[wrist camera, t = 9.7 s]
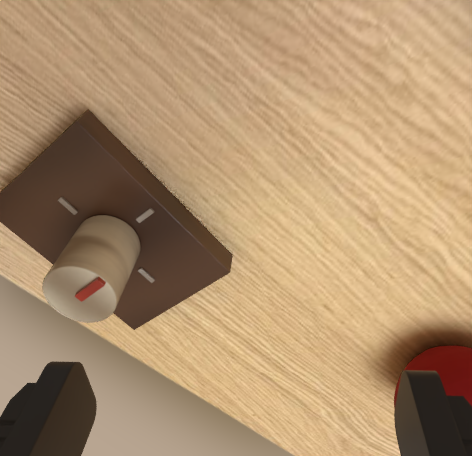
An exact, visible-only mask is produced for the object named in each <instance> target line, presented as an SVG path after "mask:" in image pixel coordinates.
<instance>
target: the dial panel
mask: <svg viewBox="0 0 472 456" xmlns="http://www.w3.org/2000/svg"><path fill="white" fill-rule="evenodd" d="M97 215H107V216H112V217H116V218H118V219H120V220H122V221H124V222H126V223H127V224H128V225H129V226H131V227H132V228H133V230H134V231H135V232H136V234H137V235H138V238H139V240H140V245H141V250H140V254H139V256H138V258H137V261H136V263H135V265H134V268H133V270H132V272H131V274H130V277H129V279H128V281H127V284H126V286H125V288H124V290H123V293H122V295H121V297H120V300H119V302H118V304H117V306H116V309H115V311H114V312H113V313H114V314H115V315H116V316H118V317H119V318H120V319H121V320H123V321H124V322H125V323H126V324H128V325H129V326H130V327H131V328H133V329H134V330H135V329H136V328H138V327H140V326H141V325H143V324H145V323H146V322H148V321H150V320H151V319H153V318H155V317H156V316H158V315H160V314H162V313H163V312H165V311H167V310H168V309H170V308H172V307H173V306H175V305H177V304H178V303H180V302H182V301H183V300H185V299H187V298H188V297H190V296H192V295H193V294H195V293H197V292H198V291H200V290H202V289H203V288H205V287H207V286H208V285H210V284H212V283H213V282H215V281H217V280H218V279H220V278H222V277H223V276H225V275H227V274H228V273H230V269H231V263H232V255H231V254H230V253H229V252H228V251H227V249H226V248H225V247H224V246H223V245H222V244H221V243H220V242H219V241H218V240H217V239H216V238H215V237H214V236H213V235H212V234H211V233H210V232H209V231H208V230H207V229H206V228H205V227H204V226H203V225H202V224H201V223H200V222H199V221H198V220H197V219H196V218H195V217H194V216H193V215H192V214H191V213H190V212H189V211H188V210H187V209H186V208H185V207H184V206H183V205H182V204H181V203H180V202H179V201H178V200H177V199H176V198H175V197H174V196H173V195H172V194H171V193H170V192H169V191H168V190H167V189H166V188H165V187H164V186H163V185H162V184H161V183H160V182H159V181H158V180H157V179H156V178H155V177H154V176H153V175H152V174H151V173H150V172H149V171H148V170H147V169H146V168H145V167H144V166H143V165H142V164H141V163H140V162H139V161H138V160H137V159H136V158H135V157H134V155H133V154H132V153H131V152H130V151H129V150H128V149H127V148H126V147H125V146H124V145H123V144H122V143H121V142H120V141H119V140H118V139H117V138H116V137H115V136H114V135H113V134H112V133H111V132H110V131H109V130H108V129H107V128H106V127H105V126H104V125H103V124H102V123H101V122H100V121H99V120H98V119H97V118H96V117H95V116H94V115H93V114H92V113H91V112H90V111H89V110H87V111H86V112H85V113H84V114H83V115H82V116H81V117H79V118H78V119H77V120H76V121H75V122H74V123H73V124H72V125H71V126H70V127H69V128H68V129H67V130H66V131H65V132H64V133H63V134H62V135H61V136H59V137H58V138H57V139H56V140H55V141H54V142H53V143H52V144H51V145H50V146H49V147H48V148H47V149H46V150H45V151H44V152H43V153H42V154H41V155H40V156H39V157H37V158H36V159H35V160H34V161H33V162H32V163H31V164H30V165H29V166H28V167H27V168H26V169H25V170H24V171H23V172H22V173H21V174H20V175H19V176H18V177H17V178H15V179H14V180H13V181H12V182H11V183H10V184H9V185H8V186H7V187H6V188H5V189H4V190H3V191H2V192H1V193H0V222H1V223H3V224H4V225H5V226H6V227H7V228H9V229H10V230H11V231H12V232H14V233H15V234H16V235H17V236H19V237H20V238H21V239H22V240H24V241H25V242H26V243H27V244H29V245H30V246H31V247H32V248H33V249H35V250H36V251H37V252H38V253H40V254H41V255H42V256H43V257H45V258H46V259H47V260H48V261H50V262H51V263H52V264H53V265H54V263H55V262H56V260H57V259H58V257H59V256H60V254H61V253H62V251H63V250H64V248H65V247H66V245H67V244H68V242H69V241H70V240H71V238H72V237H73V235H74V234H75V232H76V231H77V229H78V228H79V226H80V225H81V223H83V222H84V221H85V220H86V219H88V218H90V217H93V216H97Z"/></svg>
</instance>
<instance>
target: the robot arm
mask: <svg viewBox="0 0 472 456" xmlns="http://www.w3.org/2000/svg"><path fill="white" fill-rule="evenodd" d="M95 416H96V398H95V395H94V393H93V390H92V388H91V385H90V382H89V380H88V377H87V375H86V372H85V370H84V367H83V365H82V364H81V363H80V362H50V363H48V364H47V365H46V367H45V368H44V370H43V372H42V374H41V375H40V377H39V379H38V381H37V383H27V384H26V385H25V386H24V387H23V388H22V389H21V390H20V391H19V392H18V393H17V394H16V395H15V396H14V397H13V398H12V399H11V400H10V401H9V403H8V405H7V406H6V408H5V410H4V411H3V413H2V415H1V417H0V456H81V454H82V452H83V449H84V447H85V444H86V442H87V439H88V436H89V434H90V431H91V429H92V426H93V423H94V420H95ZM394 416H395V429H396V435H397V440H398V444H399V449H400V453H401V456H472V406H471V405H470V403H469V402H468V401H467V400H466V399H465V398H464V396H448V395H446V392H445V389H444V387H443V384H442V381H441V378H440V376H439V374H438V373H437V372H436V371H416V370H403V371H402V374H401V378H400V384H399V389H398V394H397V399H396V405H395V414H394Z"/></svg>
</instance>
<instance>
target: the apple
mask: <svg viewBox="0 0 472 456" xmlns="http://www.w3.org/2000/svg"><path fill="white" fill-rule="evenodd" d="M404 370H416V371H436V372H437V373H438V374H439V376H440V378H441V381H442V384H443V387H444V389H445V392H446V395H448V396H464V398H465V399H466V400H467V401H468V402H469V403H470V405H471V406H472V348H468V347H463V346H457V345H456V346H438V347H434V348H430V349H427V350H426V351H424V352H422V353H421V354H419V355H418V356H416V357H415V358H414V359H413V360H412V361H411V362H409V363H408V364H407V366H406V367H405V369H404ZM401 374H402V373H401ZM400 378H401V375H400V377H399V380H398V383H397V386H396V390H395V396H394V407H395V405H396V399H397V394H398V389H399V384H400Z"/></svg>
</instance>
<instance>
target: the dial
mask: <svg viewBox="0 0 472 456" xmlns="http://www.w3.org/2000/svg"><path fill="white" fill-rule="evenodd" d="M140 250H141V245H140V240H139V238H138V235H137V234H136V232H135V231H134V230H133V228H132V227H131V226H129V225H128V224H127V223H126V222H124V221H122V220H120V219H118V218H116V217H112V216H107V215H97V216H93V217H90V218H88V219H86V220H85V221H84V222H83V223H81V225H80V226H79V228H78V229H77V231H76V232H75V234H74V235H73V237H72V238H71V240H70V241H69V242H68V244H67V245H66V247H65V248H64V250H63V251H62V253H61V254H60V256H59V257H58V259H57V260H56V262H55V263H54V265H53V266H52V268H51V269H50V270H49V272H48V273H47V275H46V276H45V278H44V281H43V293H44V296H45V298H46V300H47V302H48V303H49V304H50V305H51V306H52V307H53V308H54V309H55V310H56V311H57V312H59V313H60V314H62V315H63V316H65V317H67V318H70V319H72V320H75V321H79V322H87V323H92V322H98V321H102V320H104V319H106V318H108V317H109V316H110V315H112V313H113V312H114V311H115V309H116V306H117V304H118V302H119V300H120V297H121V295H122V293H123V290H124V288H125V286H126V284H127V281H128V279H129V277H130V274H131V272H132V270H133V268H134V265H135V263H136V261H137V258H138V256H139V254H140Z"/></svg>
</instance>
